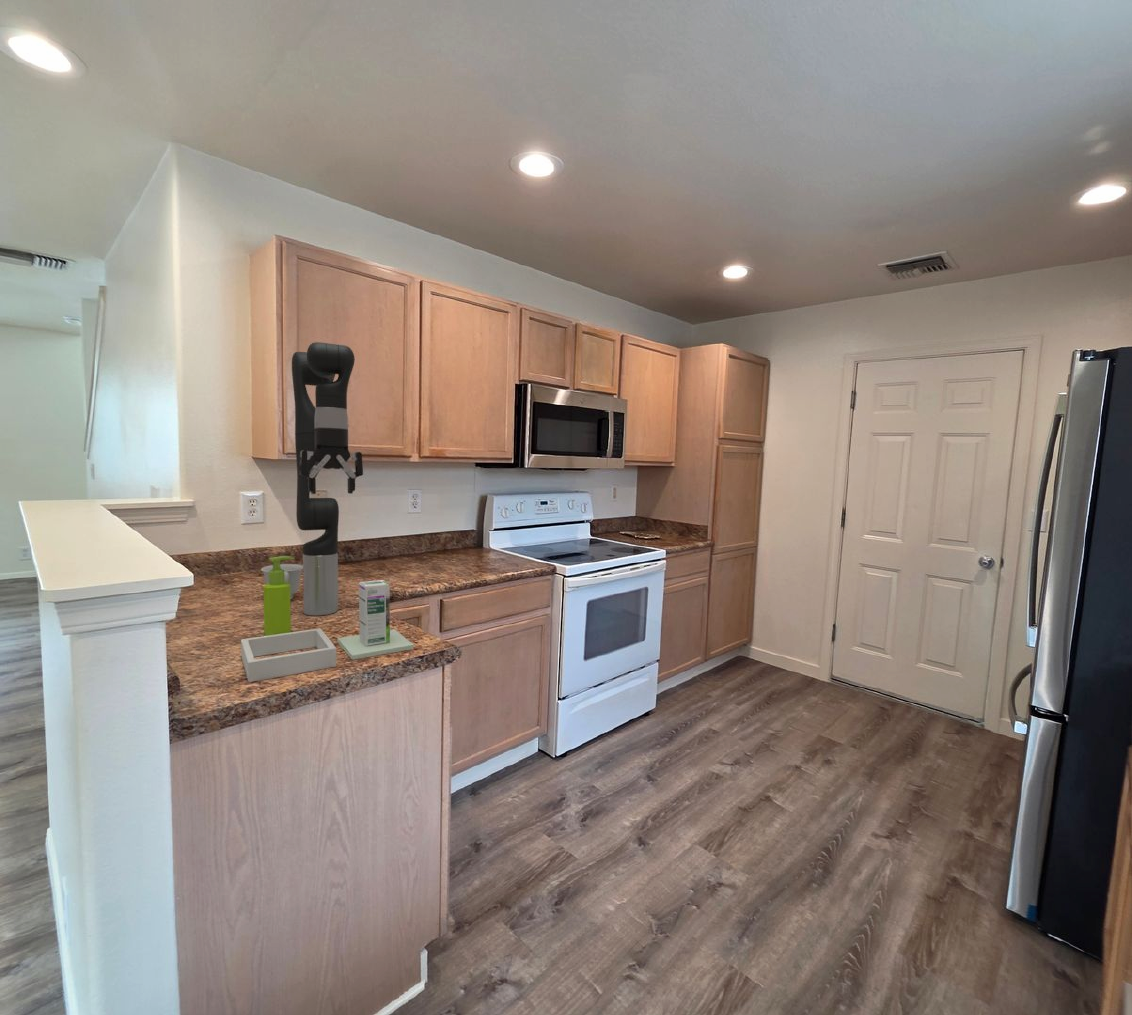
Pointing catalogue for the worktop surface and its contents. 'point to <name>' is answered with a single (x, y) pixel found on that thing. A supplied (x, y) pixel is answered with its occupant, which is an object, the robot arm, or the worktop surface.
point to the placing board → (374, 646)
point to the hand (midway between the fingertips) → (331, 493)
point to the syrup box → (374, 612)
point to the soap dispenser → (277, 600)
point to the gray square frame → (289, 662)
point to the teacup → (287, 575)
